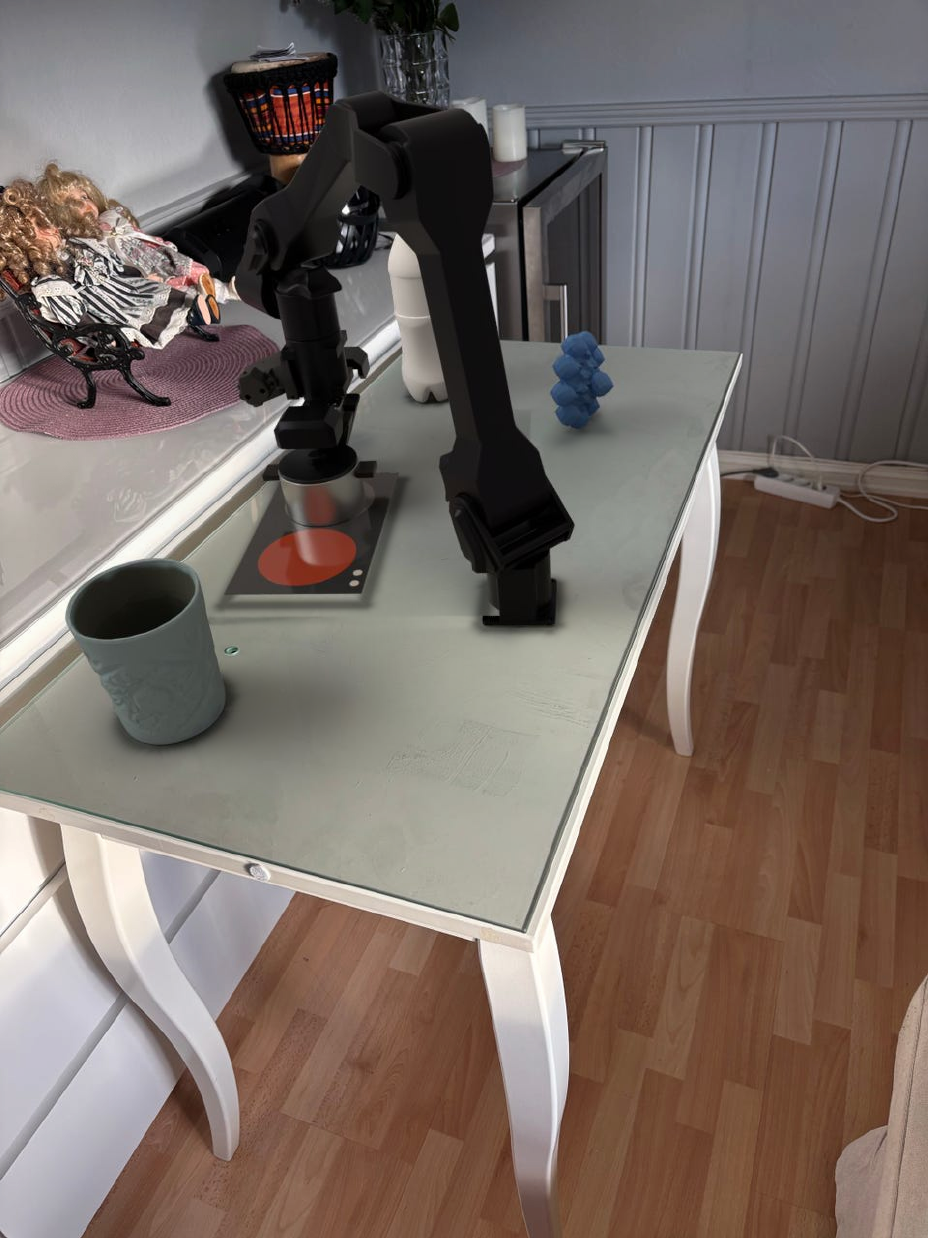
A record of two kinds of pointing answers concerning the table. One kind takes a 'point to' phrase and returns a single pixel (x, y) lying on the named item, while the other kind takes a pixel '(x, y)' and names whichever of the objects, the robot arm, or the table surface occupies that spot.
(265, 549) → the hob
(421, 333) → the water bottle
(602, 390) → the grapes
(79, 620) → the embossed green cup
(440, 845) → the table surface
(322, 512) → the pot
